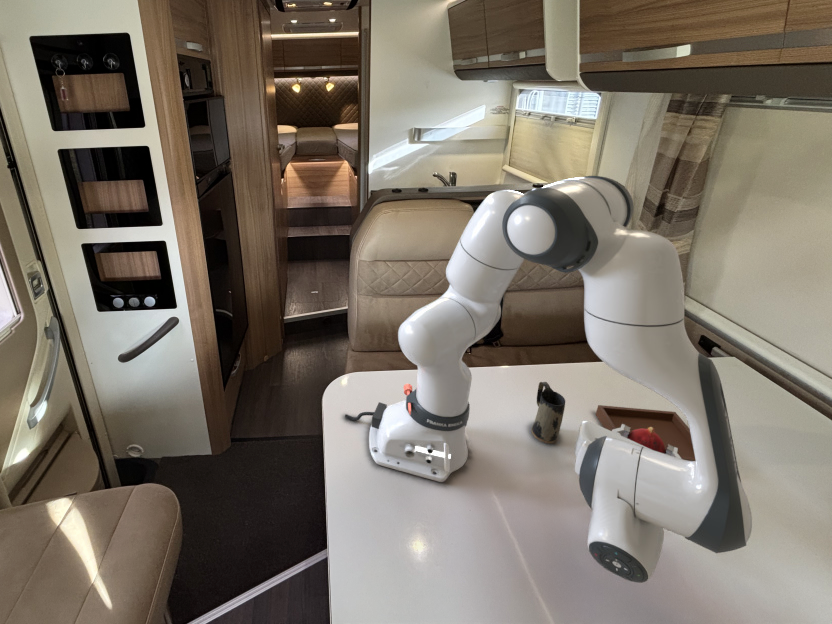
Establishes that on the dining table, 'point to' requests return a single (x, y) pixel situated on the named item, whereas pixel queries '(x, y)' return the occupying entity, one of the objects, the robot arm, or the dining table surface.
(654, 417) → the tray
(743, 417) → the dining table surface
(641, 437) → the onion
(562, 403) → the mug
